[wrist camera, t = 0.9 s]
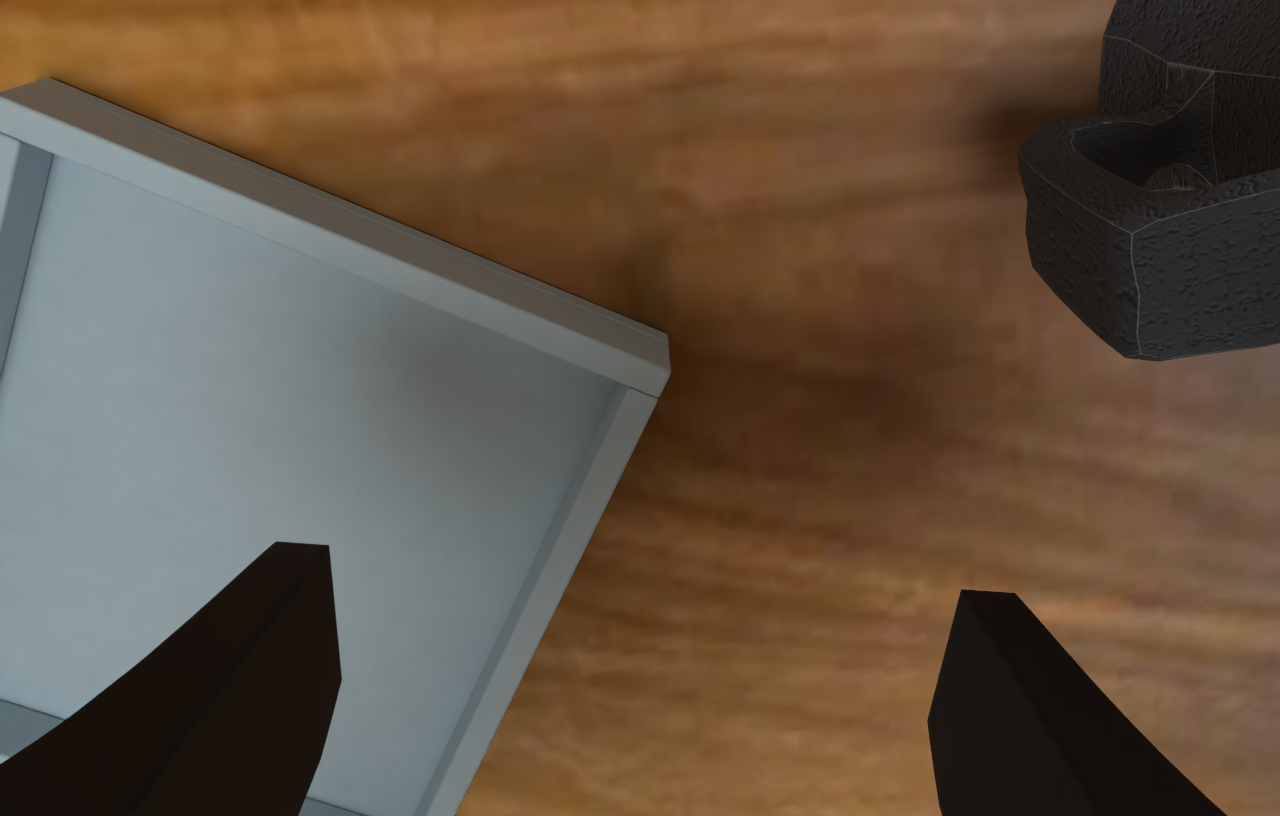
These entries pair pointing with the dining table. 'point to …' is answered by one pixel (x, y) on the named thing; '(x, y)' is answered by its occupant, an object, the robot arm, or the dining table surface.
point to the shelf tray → (286, 437)
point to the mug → (1168, 183)
